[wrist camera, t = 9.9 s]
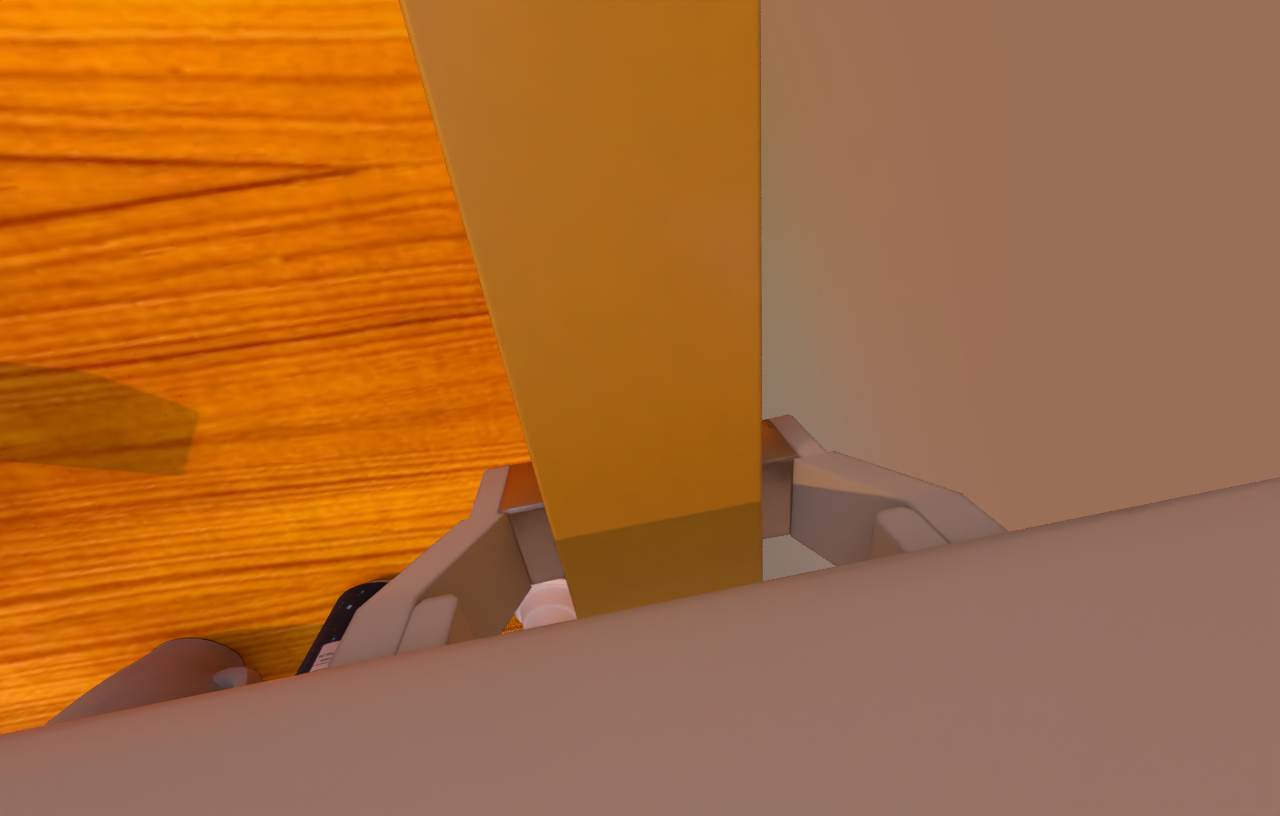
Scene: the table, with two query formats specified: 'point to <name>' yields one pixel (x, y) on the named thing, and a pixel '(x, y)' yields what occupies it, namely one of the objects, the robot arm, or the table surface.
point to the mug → (164, 678)
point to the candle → (546, 605)
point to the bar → (618, 269)
